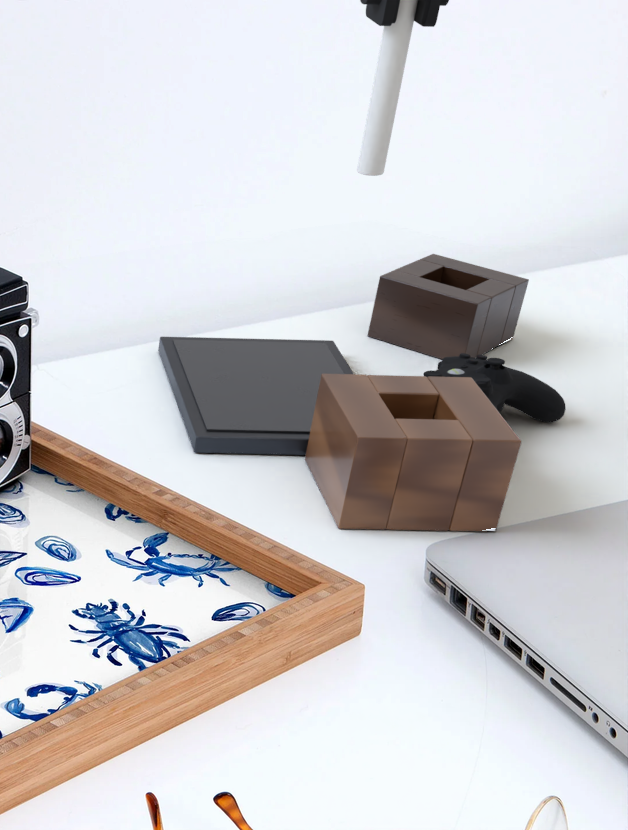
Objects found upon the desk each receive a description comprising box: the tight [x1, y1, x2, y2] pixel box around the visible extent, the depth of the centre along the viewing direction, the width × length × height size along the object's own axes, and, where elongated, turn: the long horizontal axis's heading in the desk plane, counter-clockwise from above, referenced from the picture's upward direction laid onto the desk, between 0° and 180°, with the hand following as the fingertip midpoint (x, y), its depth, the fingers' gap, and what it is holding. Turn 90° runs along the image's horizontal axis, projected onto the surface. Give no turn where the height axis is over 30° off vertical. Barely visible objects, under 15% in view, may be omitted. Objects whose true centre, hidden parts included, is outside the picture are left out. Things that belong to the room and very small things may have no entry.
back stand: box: [367, 253, 530, 360], centre depth 95 cm, size 7×7×4 cm
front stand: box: [304, 373, 522, 532], centre depth 76 cm, size 8×8×5 cm
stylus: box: [356, 0, 418, 177], centre depth 75 cm, size 1×1×13 cm
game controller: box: [423, 353, 566, 423], centre depth 84 cm, size 10×5×7 cm
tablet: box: [157, 336, 355, 456], centre depth 86 cm, size 11×15×1 cm
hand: (399, 19), depth 74 cm, fingers closed on stylus, 1 cm apart
